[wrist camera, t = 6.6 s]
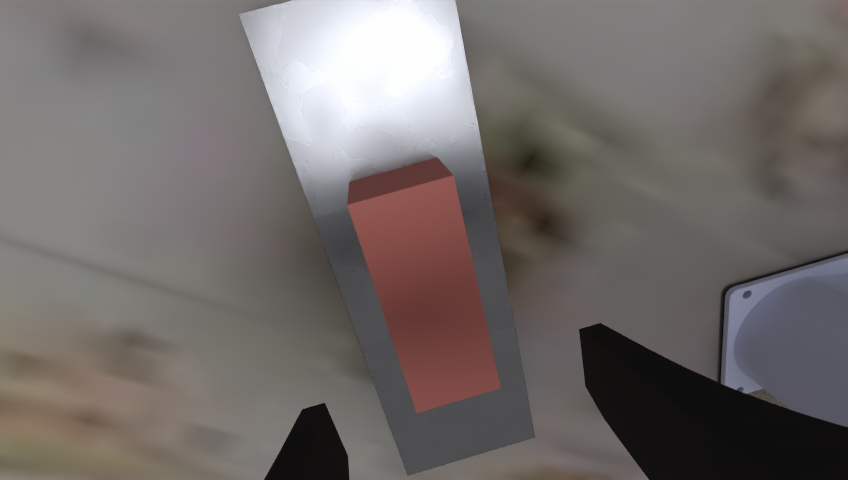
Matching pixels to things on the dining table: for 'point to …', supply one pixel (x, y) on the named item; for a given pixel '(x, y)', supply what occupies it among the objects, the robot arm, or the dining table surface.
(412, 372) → the clip
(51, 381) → the dining table surface
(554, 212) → the dining table surface
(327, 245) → the rail
